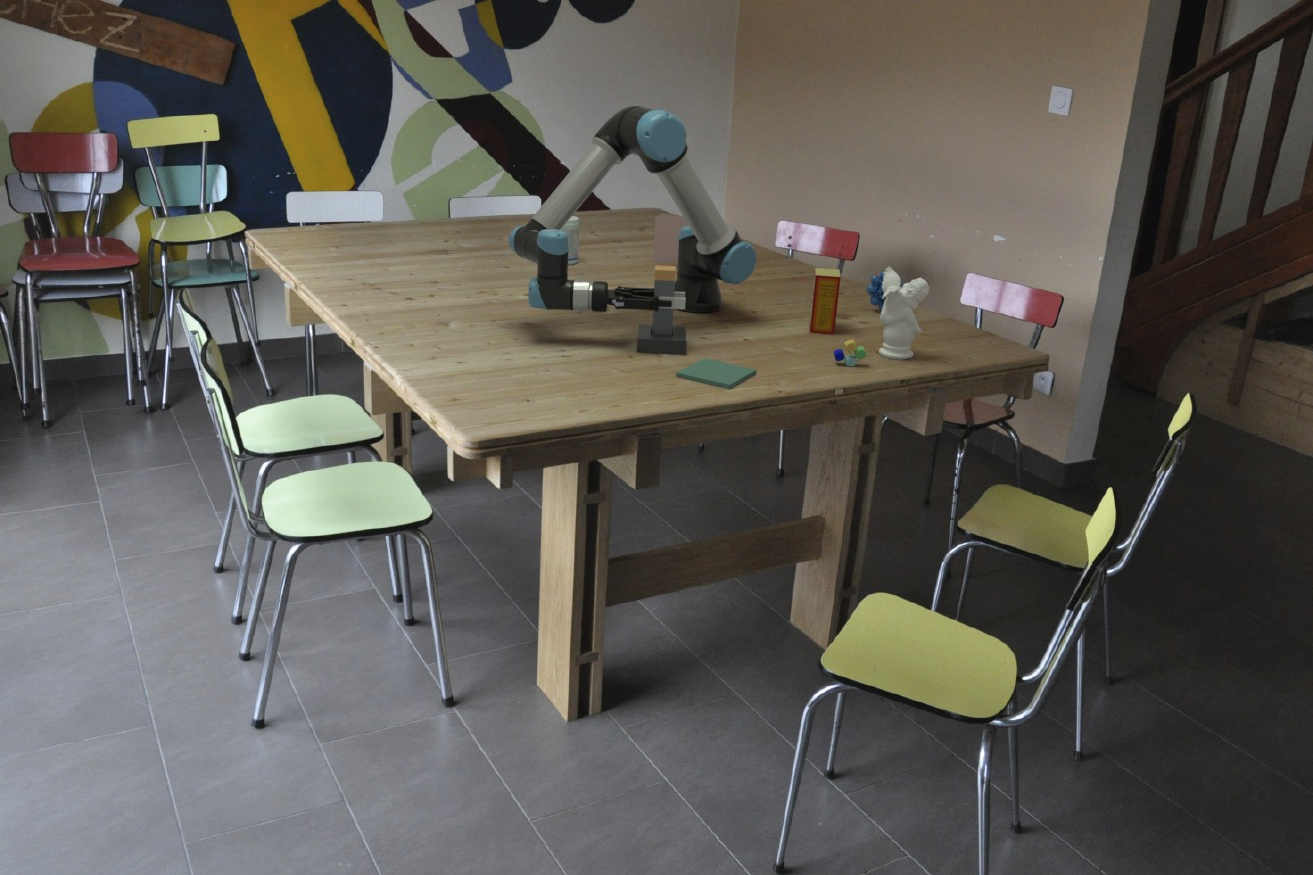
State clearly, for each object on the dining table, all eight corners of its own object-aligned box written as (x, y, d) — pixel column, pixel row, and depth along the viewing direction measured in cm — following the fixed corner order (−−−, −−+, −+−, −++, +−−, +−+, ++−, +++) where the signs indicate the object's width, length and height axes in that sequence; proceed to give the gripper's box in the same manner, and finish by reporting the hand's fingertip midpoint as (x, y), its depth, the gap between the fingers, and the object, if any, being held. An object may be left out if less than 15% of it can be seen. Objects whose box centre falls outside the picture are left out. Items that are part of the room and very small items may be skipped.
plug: (652, 335, 282) (655, 265, 275) (671, 336, 282) (675, 266, 275) (651, 340, 277) (655, 269, 271) (671, 341, 277) (675, 270, 271)
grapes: (866, 315, 318) (871, 273, 314) (862, 308, 324) (867, 268, 320) (907, 317, 318) (912, 275, 314) (902, 310, 324) (908, 270, 320)
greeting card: (688, 262, 371) (691, 217, 365) (677, 266, 365) (680, 220, 359) (659, 257, 376) (661, 212, 371) (647, 260, 370) (649, 215, 365)
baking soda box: (809, 323, 307) (815, 266, 301) (833, 325, 306) (839, 268, 300) (809, 332, 298) (815, 274, 292) (834, 334, 298) (840, 275, 292)
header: (638, 337, 286) (638, 324, 285) (684, 339, 286) (685, 326, 285) (636, 352, 274) (637, 338, 273) (685, 354, 274) (686, 341, 273)
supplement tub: (543, 263, 359) (543, 217, 354) (557, 257, 368) (558, 213, 362) (569, 267, 356) (570, 221, 350) (583, 261, 364) (584, 216, 358)
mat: (704, 362, 269) (704, 358, 269) (756, 373, 263) (756, 369, 262) (675, 376, 258) (676, 372, 257) (729, 389, 251) (729, 384, 251)
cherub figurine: (923, 357, 282) (937, 272, 274) (898, 367, 274) (911, 279, 265) (882, 345, 290) (894, 262, 281) (856, 354, 281) (868, 269, 273)
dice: (833, 365, 272) (835, 340, 269) (831, 362, 274) (834, 337, 272) (865, 367, 272) (868, 342, 269) (864, 364, 274) (867, 339, 272)
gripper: (593, 301, 286) (683, 306, 286) (588, 320, 269) (684, 325, 269) (594, 272, 283) (685, 277, 283) (589, 290, 266) (686, 295, 266)
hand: (684, 300), depth 276 cm, fingers closed on plug, 5 cm apart
